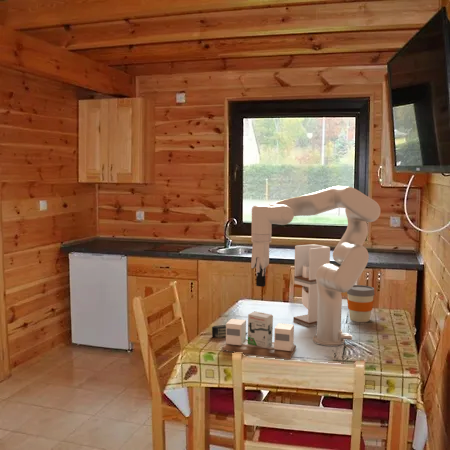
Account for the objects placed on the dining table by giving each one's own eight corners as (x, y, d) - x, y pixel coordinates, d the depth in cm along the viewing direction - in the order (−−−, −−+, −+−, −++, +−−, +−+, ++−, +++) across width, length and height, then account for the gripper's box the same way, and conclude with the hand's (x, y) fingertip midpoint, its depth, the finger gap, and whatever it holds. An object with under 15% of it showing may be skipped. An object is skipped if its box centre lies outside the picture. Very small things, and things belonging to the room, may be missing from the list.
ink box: (246, 343, 201) (247, 313, 200) (253, 340, 206) (253, 310, 204) (266, 348, 197) (267, 317, 195) (272, 344, 201) (273, 314, 200)
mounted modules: (293, 345, 200) (293, 324, 200) (289, 351, 194) (290, 330, 193) (231, 338, 208) (231, 318, 207) (225, 343, 201) (225, 323, 200)
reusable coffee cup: (340, 318, 246) (341, 287, 245) (357, 314, 254) (358, 283, 252) (361, 324, 236) (363, 291, 235) (379, 320, 244) (380, 288, 242)
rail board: (295, 348, 203) (295, 343, 203) (290, 358, 192) (290, 353, 191) (231, 341, 211) (231, 336, 211) (222, 350, 199) (222, 345, 199)
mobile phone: (212, 327, 214) (247, 324, 218) (211, 325, 217) (246, 322, 220) (212, 339, 215) (248, 336, 218) (211, 336, 218) (246, 333, 221)
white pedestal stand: (312, 317, 246) (313, 244, 243) (327, 323, 238) (330, 247, 234) (293, 321, 240) (295, 245, 237) (308, 327, 231) (310, 248, 228)
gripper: (256, 235, 205) (256, 281, 207) (246, 240, 191) (246, 289, 193) (275, 236, 203) (274, 282, 205) (266, 241, 189) (265, 290, 191)
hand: (260, 285), depth 199 cm, fingers closed
